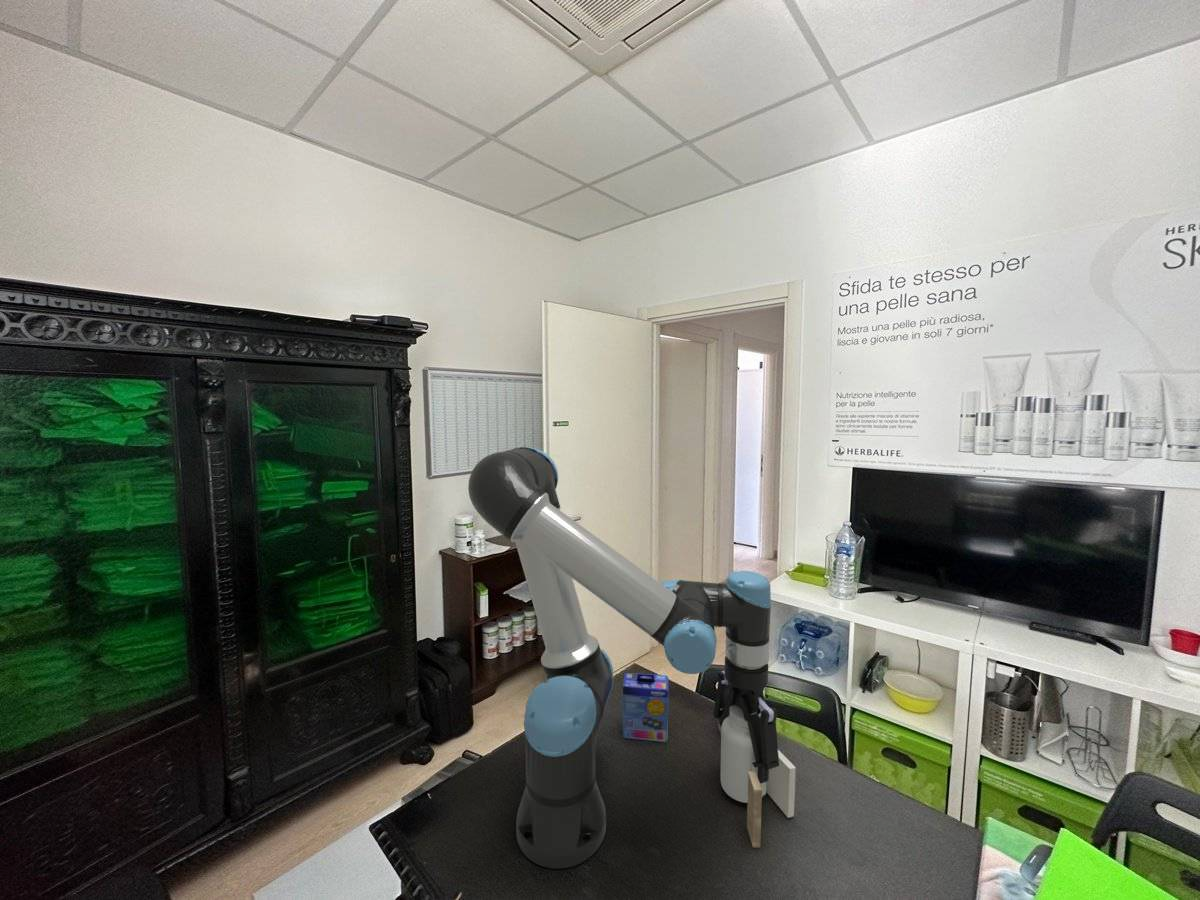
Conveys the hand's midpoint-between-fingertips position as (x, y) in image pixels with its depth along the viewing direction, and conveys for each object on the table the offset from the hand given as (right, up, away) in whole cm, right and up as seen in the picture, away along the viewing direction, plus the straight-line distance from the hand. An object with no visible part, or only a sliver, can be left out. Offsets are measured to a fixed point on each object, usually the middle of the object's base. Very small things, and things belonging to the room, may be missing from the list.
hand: (742, 776), depth 86 cm
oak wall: (0, -3, +4) cm, 4 cm away
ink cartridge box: (-16, -2, +16) cm, 23 cm away
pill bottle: (0, -2, 0) cm, 2 cm away
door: (+4, -2, +4) cm, 6 cm away
